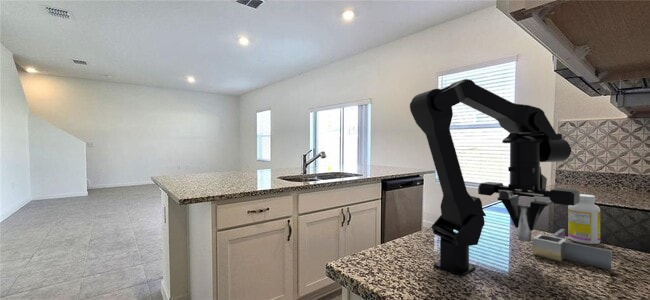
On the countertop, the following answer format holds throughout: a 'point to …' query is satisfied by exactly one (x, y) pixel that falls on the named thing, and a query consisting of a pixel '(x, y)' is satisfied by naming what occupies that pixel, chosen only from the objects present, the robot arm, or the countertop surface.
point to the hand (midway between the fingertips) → (524, 228)
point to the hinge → (570, 250)
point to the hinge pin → (524, 223)
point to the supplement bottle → (584, 221)
